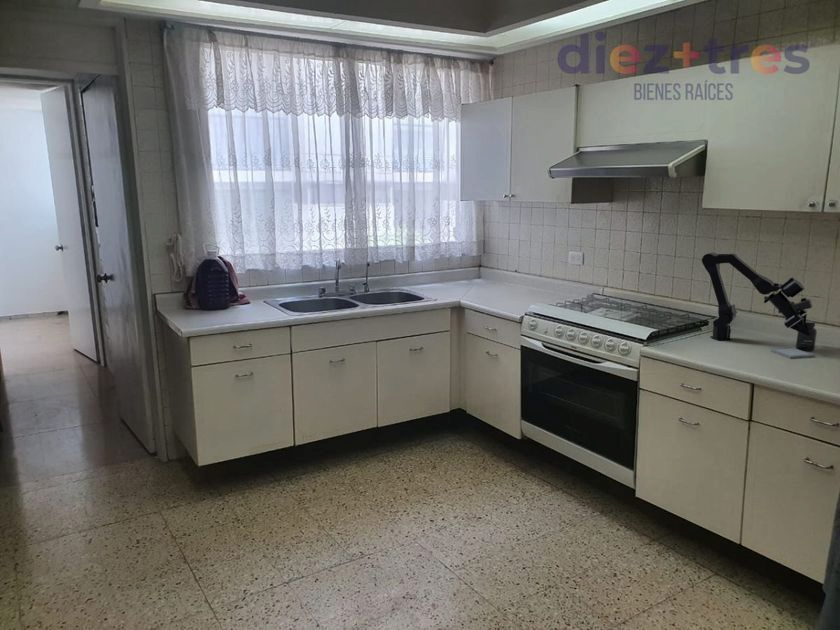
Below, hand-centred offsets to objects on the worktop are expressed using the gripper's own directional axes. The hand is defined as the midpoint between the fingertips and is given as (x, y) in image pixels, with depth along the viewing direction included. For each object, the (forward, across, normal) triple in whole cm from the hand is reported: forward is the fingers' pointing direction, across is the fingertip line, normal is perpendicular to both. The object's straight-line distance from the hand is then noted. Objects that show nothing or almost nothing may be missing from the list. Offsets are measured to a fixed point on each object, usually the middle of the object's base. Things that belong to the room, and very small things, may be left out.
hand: (810, 333), depth 257 cm
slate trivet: (+2, -11, +8) cm, 14 cm away
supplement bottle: (+4, 0, +6) cm, 7 cm away
